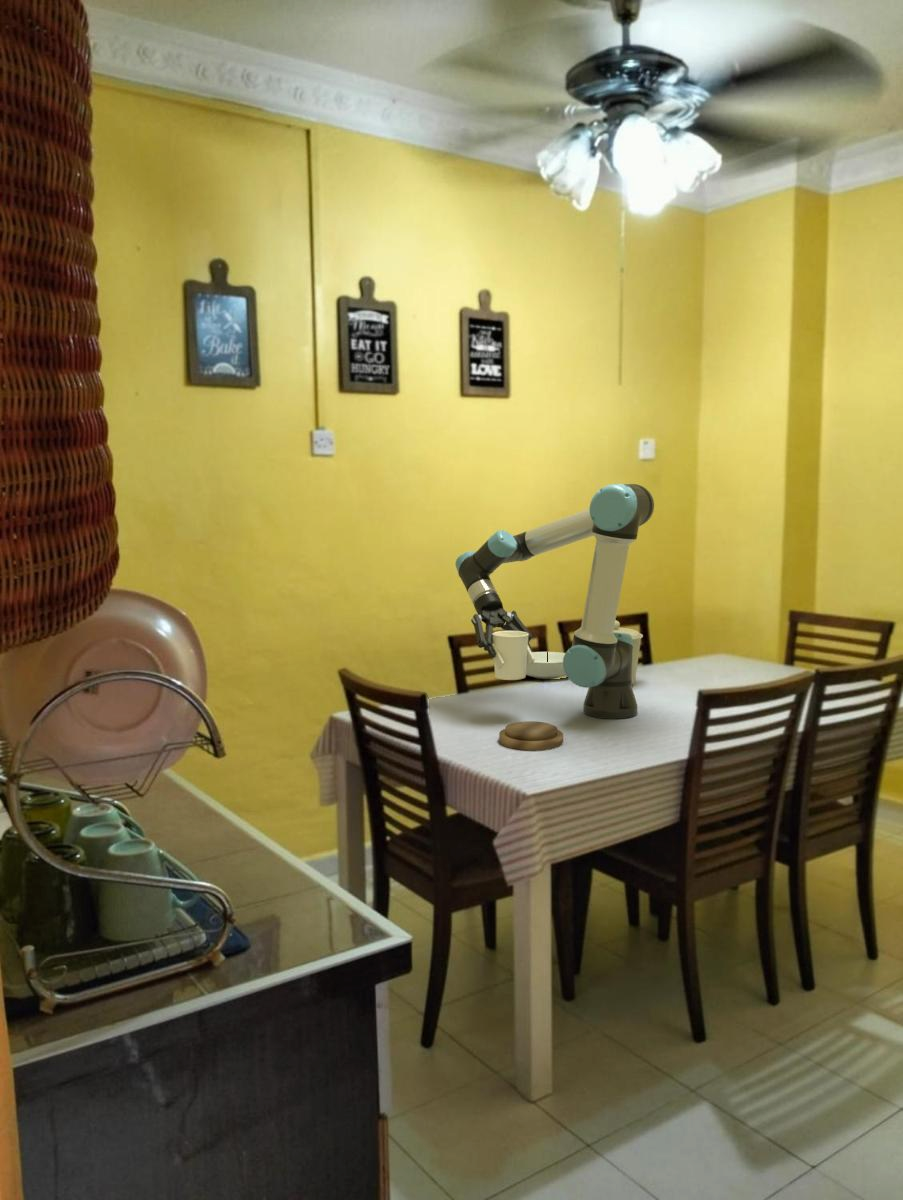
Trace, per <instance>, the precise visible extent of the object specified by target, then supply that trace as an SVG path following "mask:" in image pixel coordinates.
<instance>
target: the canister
mask: <svg viewBox="0 0 903 1200" xmlns="http://www.w3.org/2000/svg"><path fill="white" fill-rule="evenodd" d="M620 626H621V623H620V622H619V620H615V625H614V630H613V632H618V633H627V634H630V635H631V636H632V644H633V651H632V685H633V684H634V682H635V681H636V676H637V670H638V665H639V664H638V663H639V656H640V649H641V639H643V637H644V635H643V634H642V633H641V632H639V631H638V630H635V629H632V628H629V627H628V628H626V627H620Z"/></svg>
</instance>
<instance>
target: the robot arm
mask: <svg viewBox="0 0 903 1200" xmlns="http://www.w3.org/2000/svg"><path fill="white" fill-rule="evenodd" d="M654 510H655V501H654V498H653V495H652V493H651V492H650V491H649V490H648V489H647V488H646V487H644V486H643V485H640V484H636V483H611V484H608V485H604V486H603V487H601V488H600V489H598V490H597V491H596V492H595V494H594V495H593V496H592V498H591V500H590V504H589V508H587V509H584V510H582V511H579V512H576V513H574V514H571V515H567V516H566V517H563V518H558V519H557V520H554V521H551V522H548V523H546V524H542V525H540V526H538V527H535V528H532V529H529V530H527V531H523V532H522V533H518V534H515V535H512V534H511V533H509V532H508V531H505V530H504V529H500V530H497V531H496V532H495V533H493V535H491V536H490V537H489V538H488V539H487V540H486V541H485V543H484V544H482V545H481V546H480V547H479V548H478V550H476V551H473V550H469V551H466V552H464V553H463V554H460V555H459V556H458V557H457V558H456V560H455V568H456V570H457V574H458V577H459V578H460V579H461V581H462V583H463V585H464V588H465V590H466V592H467V594H468V596H469V599H470V601H471V602H472V605H473V607H474V610H475V612H476V613H474V615H473V616H472V618H471V619H470V622H471V623H472V625H473V626H474V627H473V628H474V633H475V637H476V641H477V642H476V643H477V647H478V648H479V649H482V648H483V650H484V652H485V651H486V652H488V654H489V657H490V658H491V659H493V662H494V661H495V663H496V665H497V667H498V669H501V668H502V666H503V665H504V661H503V659H502V657H501V654H500V652H499V650H498V648H497V647H496V645H495V644H493V636H492V633H494V629H496V628H501V629H502V631H523V632H527V633H528V634H529V635H528V649H527V662H528V665H532V663H533V662H534V660H535V658H534V656H533V654H532V652H533V648H532V646H531V644H530V641H532V639H533V635H532V633H531V632H530V631H529V629H528V628H527V626H526V625H525V624H524V623H523V621H521V618H519V616H518V614H517V611H516V610H512V611H511V612H508V611H506V610H505V609H504V606H503V605H504V604H503V602H502V600H501V597H500V595H499V594H498V592H497V589H496V588H495V586H494V584H493V582H492V579H491V577H490V576H491V575H492V574H493V573H494V572H495V571H496V570H497V569H498V568H500V566H501V565H503V564H509V563H513V562H515V563H516V562H525V561H528V560H529V559H531V558H533V557H535V556H539V555H540V554H543V553H547V552H549V551H552V550H555V549H558V548H561V547H564V546H567V545H571V544H574V543H576V542H578V541H579V542H580V541H582V540H585V539H588V538H591V537H593V536H594V538H595V541H596V542H595V546H594V553H593V558H592V563H591V570H590V573H589V575H590V576H589V581H588V585H587V592H586V598H585V602H584V603H585V604H584V609H583V614H582V619H581V624H580V625H581V626H580V627H579V628H578V629H577V630H575V631H574V633H573V638H572V644H571V647H569V648H568V649H567V651H566V652H564V653H565V655H564V658H563V669H564V672H565V674H566V675H565V676H566V677H567V678H568V680H569V681H570V682H571V683H573V684H574V685H576V686H578V687H580V688H588V689H587V692H586V695H585V698H584V701H583V705H582V707H583V708H582V710H583V711H582V712H583V714H585V715H587V716H591V717H594V718H601V719H609V718H611V719H612V720H614V719H615V718H616V720H618V719H617V718H619V719H627V718H628V717H629V718H632V716H633V717H635V716H637V715H638V702H637V699H636V697H635V694H634V690H633V684H632V651H633V644H632V636H631V635H630V634H627V633H618V632H613V630H614V625H615V620H616V618H617V613H618V608H619V604H620V598H621V592H622V587H623V581H624V576H625V570H626V565H627V560H628V555H629V549H630V546H631V544H632V543H634V542H635V541H637V538H638V534H639V528H640V527H641V526H644V525H645V524H646V523H648V521H649V520H650V519H651V518H652V516H653V513H654ZM482 622H483V623H484V624H485V633H484V628H483V627H484V626H483V623H482ZM613 718H614V719H613ZM629 718H628V719H629Z"/></svg>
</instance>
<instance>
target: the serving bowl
mask: <svg viewBox="0 0 903 1200" xmlns="http://www.w3.org/2000/svg"><path fill="white" fill-rule="evenodd" d="M531 652H532V654H533V656H534V658H535V660H534V662H533V663H532V665H528V662H527V665H526V676H528V677H532V678H535V679H540V680H554V679H557V678H562V677H564V676H567V675H566V674H565V672H564V669H563V658H564V655H565V653H566V652H556V651H531ZM547 652H548V662H547Z"/></svg>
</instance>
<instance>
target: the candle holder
mask: <svg viewBox="0 0 903 1200" xmlns="http://www.w3.org/2000/svg"><path fill="white" fill-rule="evenodd" d="M528 635H529V634H528V633H527V632H523V631H506V630H500V631H499V630H498V631H493V633H492V636H493V637H492V644H495V645H496V647H497V648H498V650H499V652H500V654H501V657H502V659H503V661H504V665H503V666H502V668H501V669H498V667H497V665H496V663H495V661H494V660H493V665H494V676H495V678H496V679H499V680H505V681H518V680H522V679H525V678H526V676H527V675H526V665H527V649H528Z"/></svg>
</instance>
